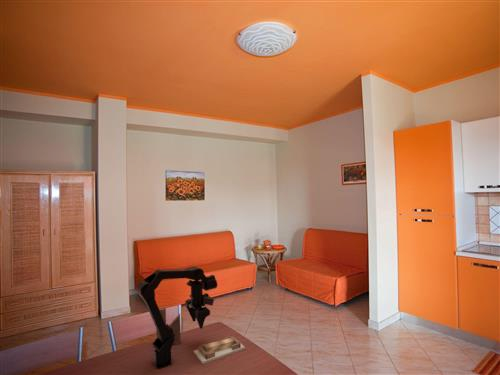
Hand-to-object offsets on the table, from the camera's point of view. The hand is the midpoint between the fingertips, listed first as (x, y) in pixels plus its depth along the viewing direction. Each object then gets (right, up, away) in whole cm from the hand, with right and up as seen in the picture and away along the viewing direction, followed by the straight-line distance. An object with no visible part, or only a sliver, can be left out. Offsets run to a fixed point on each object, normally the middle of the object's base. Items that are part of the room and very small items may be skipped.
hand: (197, 324), depth 144 cm
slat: (+11, -11, -2) cm, 16 cm away
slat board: (+11, -12, -2) cm, 16 cm away
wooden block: (-16, -13, +7) cm, 21 cm away
